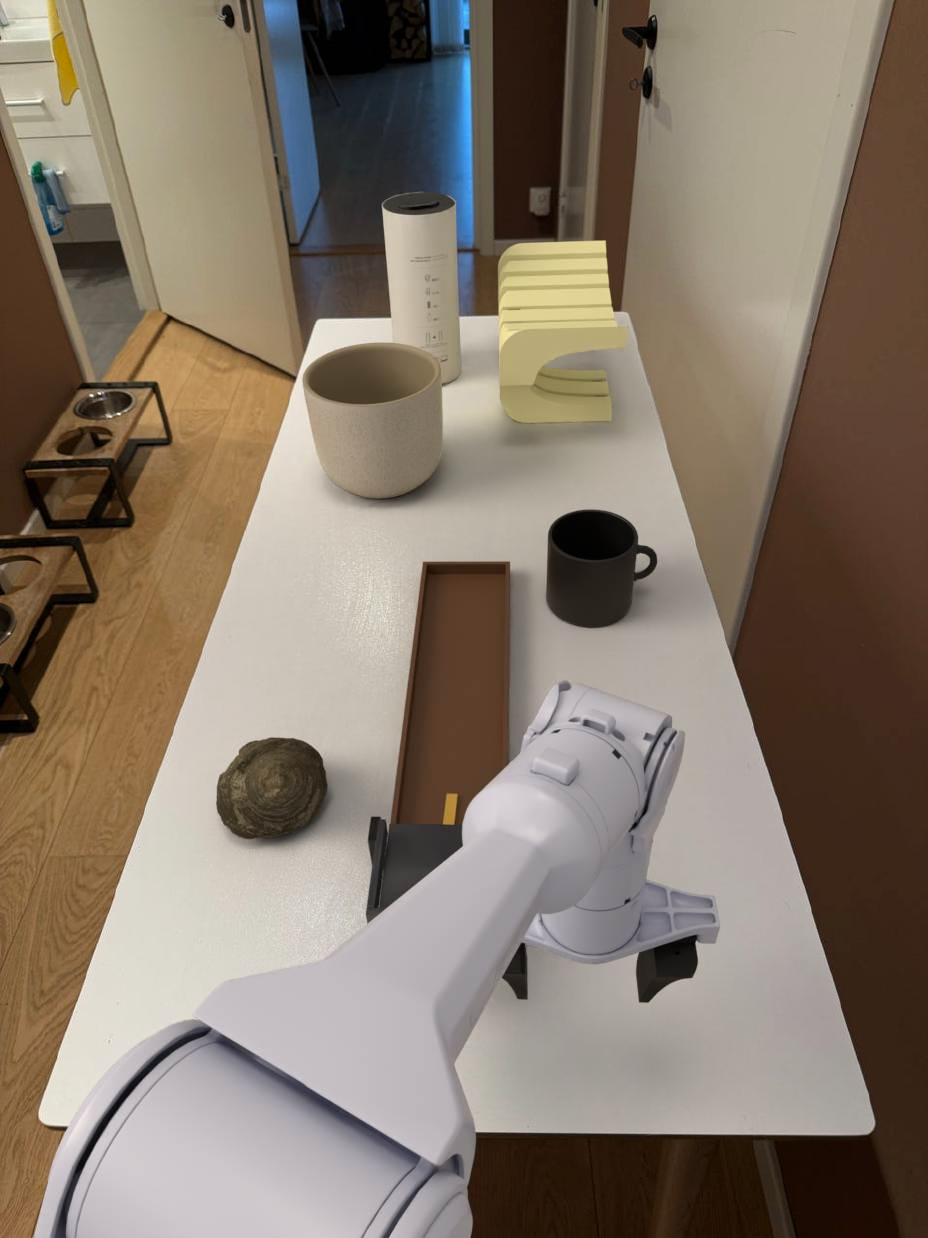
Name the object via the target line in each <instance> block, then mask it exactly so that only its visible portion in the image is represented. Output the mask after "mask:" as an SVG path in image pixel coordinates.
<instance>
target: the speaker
mask: <svg viewBox="0 0 928 1238" xmlns="http://www.w3.org/2000/svg"><path fill="white" fill-rule="evenodd" d="M381 211H382V221H383V235H384V246H385V259H386V270H387V281H388V293H389V294H388V295H389V306H390V316H391V317H390V320H391V329H392V343H398V344H405V345H409V346H413V347H417V348H419V349H422V350H424V351H426V352H428V353H430V354H431V355H432V356H434V357H435V358H436V359H437V361H438V362H439V364H440V367H441V375H442V386H445V385H447V384H450V383H452V382H454V381H455V380H456V379H458V377H459V376H460V375H461V374H462V371H463V370H462V369H463V368H462V367H463V366H462V349H461V348H462V347H461V326H460V302H459V299H460V297H459V273H458V272H459V270H458V268H459V267H458V242H457V241H458V237H457V236H458V234H457V233H458V231H457V201H456V200H455V199H454V198H453V197H452V196H450V195H447V194H443V193H439V192H432V191H431V192H430V191H417V192H407V193H402V194H396V195H394V196H391V197H389V198H387V199H385V200H384V201H382V203H381Z"/></svg>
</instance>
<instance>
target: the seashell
mask: <svg viewBox="0 0 928 1238" xmlns="http://www.w3.org/2000/svg"><path fill="white" fill-rule="evenodd" d="M225 716H227V715H225ZM327 778H328V777H327V771H326V769H325V766H324V759H323V757H322V755H321V753H320V752H319V751H318V750H317V749H316V748H314V747H313V746H312V745H311V744H310V743H308V742H306V741H304V740H302V739H297V738H295V737H274V736H273V737H267V738H264V739H260V740H252V741H248V742H246V743H245V744H244V745H242V746H241V747H240V748H239V749H238V754H237V755H236V756H235V758H234V759H233V760H232V761H231V762H230V763H229V765H228V766H227V768H226V769H225V770H224V771H223V772H222V773H220V774H219V776H218V779H217V784H216V801H215V805H216V810H217V811H216V812H217V814H218V815H219V817H220V820H221V822H222V823H223V825H224V826H225V827H227V828H228V830H230V832H231V833H232V834H234V835H235V836H237V838H241V839H243V840H255V839H261V838H266V837H267V838H272V837H274V838H275V837H278V836H279V837H280V836H282V835H285V834H288V833H292V832H295V831H296V830H297V829H299V828H301V827H304V826H309V825H310V824H311V823H313V821H315V818H316V817H317V816H318V814H319V812H320V811H321V809H322V807H323V804H324V801H325V800H326V796H327V792H328V788H329V787H328V786H329V784H328V780H327Z"/></svg>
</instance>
